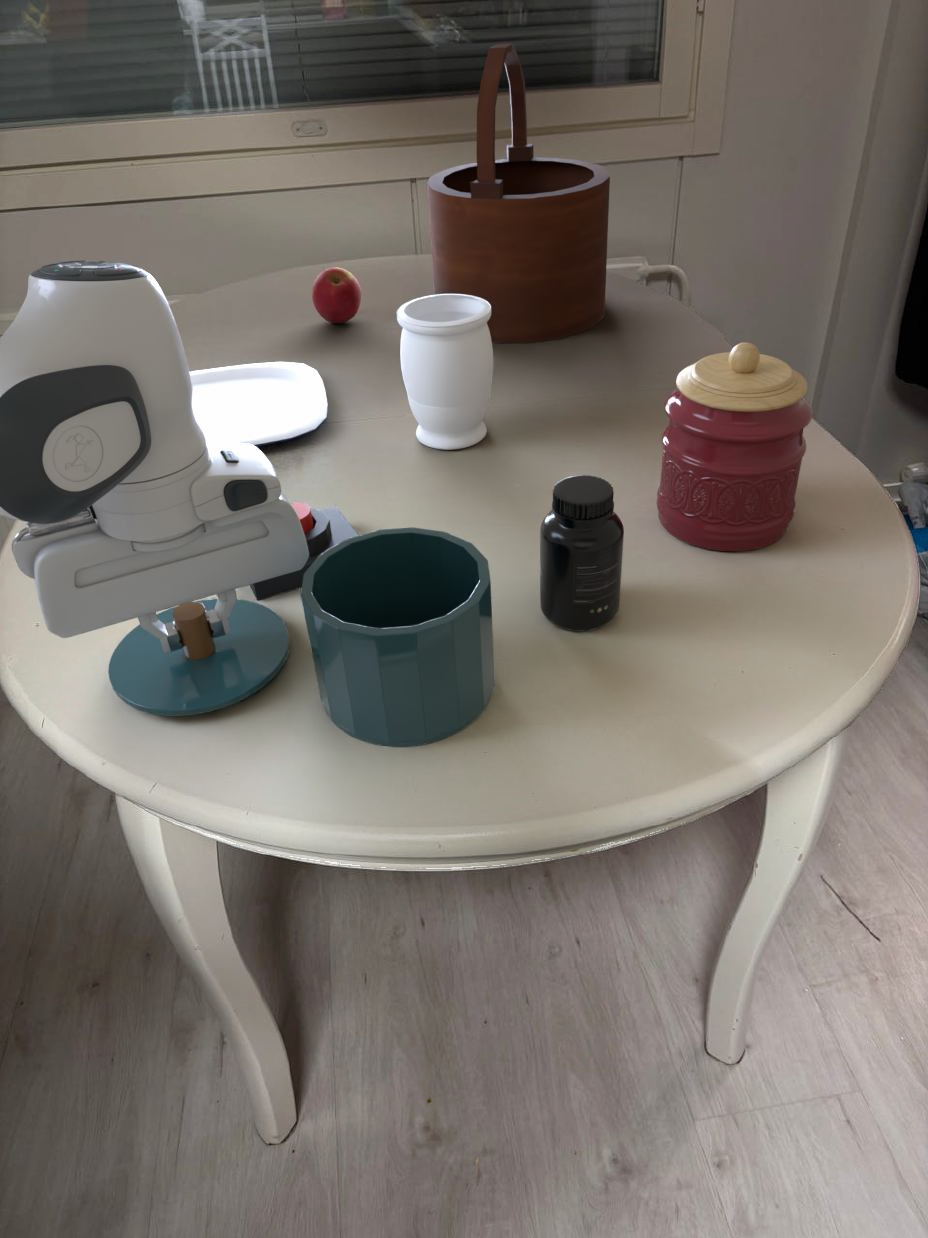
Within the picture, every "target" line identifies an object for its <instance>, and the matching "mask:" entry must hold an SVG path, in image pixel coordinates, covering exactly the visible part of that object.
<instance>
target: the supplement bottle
mask: <svg viewBox="0 0 928 1238" xmlns="http://www.w3.org/2000/svg"><path fill="white" fill-rule="evenodd" d="M614 493H615V491H614V487H613V486H612V484H611V483H610V482H609V481H607V480H606V479H604V478H601V477H598V476H595V475H590V474H588V475H587V474H582V475H581V474H578V475H571V476H567V477H565V478H562V479H560V480H558V482H556V483H555V485H554V486H553V488H552V501H551V511H549V512H548V513H547V514H546V516H545V517H543V520H542V522H541V523H540V524H541V525H540V531H539V552H540V553H539V558H540V559H539V586H540V587H539V590H540V592H539V596H540V597H539V598H540V599H539V600H540V609H541V612H542V613H543V614H542V615H544V617H545V618H546V619H547V620H548V621H549V622H550V623H551V624H553V625H555V626H556V627H558V628H561V629H563V630H568V631H574V632H587V631H595V630H598V629H600V628H602V627H605V626H607V625H608V624H610V623H611V622H612V621H613V620H614V619H615V617H616V616H617V614H618V612H619V609H620V601H621V587H622V586H621V584H622V569H623V554H624V539H625V537H624V536H625V528H624V524H623V522H622V519H621V518H620V516H619V515H618V514H617V513H616V512H615V511H614V510H615V501H614V497H615V496H614Z"/></svg>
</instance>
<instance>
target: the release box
mask: <svg viewBox="0 0 928 1238" xmlns="http://www.w3.org/2000/svg"><path fill="white" fill-rule="evenodd" d="M310 508H311V513H312V519H313V529H312V530H310V531H309V532H307V533H306V534H304V535H305V538H306V542H307V546H308V550H309V558H308V560H307V562H306V563H305V565H304V567H303V568H302V569H301V570H298V571H295V572H291V573H288V574H284V575H281V576H278V577H274V578H271V579H267V580H264V581H260V582H257V583H254V584H250V585H248V586H249V588H250V589H251V591H252V594H253V595H254V597H255V599H256V601H260V600H264V599H267V598H272V597H274V596H277V595H280V594H285V593H287V592H291V591H295V590H299V589H302V582H303V576H304V573H305V572H306V571H307V569H308V568H309V567H310V566H311V565H312V564H313V562H314V561H315V560H316V559H317V558H318V556H319V555H321V553H323V552H325V551H327V550H328V549H330V548H332V547H334V546H335V545H337V544H339V543H340V542H342V541H344V540H346V539H349V538H352V537H356V536H359V534H358V532H356V530H355V529H354V528H353V526H352V525H351V524H350V522H349V521H348V520H347V518H346V517H345V516H344V515H343V513H342V512H341V510H340V509H339V508H338V507H337V505H333V506H330V507H326V508H322V509H317V508H313V507H310Z"/></svg>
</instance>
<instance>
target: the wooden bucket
mask: <svg viewBox="0 0 928 1238" xmlns="http://www.w3.org/2000/svg"><path fill="white" fill-rule="evenodd" d="M521 63H522V62H521V61H520V58H519V55H518V52H517V51H516V48H515V45H514V43H513V42H511V43H495V44H494V45H492V46H490V47H489V48H488V52H487V56H486V60H485V64H484V67H483V72H482V76H481V80H480V84H479V85H480V86H479V91H478V92H479V93H478V98H477V99H478V100H477V106H476V162H471V163H465V164H461V165H456V166H453V167H450V168H446V169H444V170H440V171H439V172H436V173H435V174H433V175H432V176H430V177H429V178H428V180H427V182H426V190H427V205H428V220H429V233H430V249H431V262H432V264H431V265H432V276H433V290H434V295H437V294H465V295H471V296H476V297H479V298H482V299H484V300H486V301H487V302H489V304H490V305H491V317H490V319H489V320H488V321H487V325H488V328H489V331H490V336H491V341H492V343H499V344H526V343H527V344H528V343H529V344H532V343H538V342H539V343H540V342H545V341H553V340H560V339H563V338H566V337H569V336H570V337H571V336H573V335H577V334H580V333H583V332H584V331H586V330H589V329H590V328H593V327H594V326H596V325H598V323H599V322H600V321H601V320H602V319H603V317H604V316H605V311H606V287H607V286H606V285H607V263H608V262H607V261H608V260H607V259H608V236H609V212H610V211H609V208H610V186H611V185H610V184H611V180H610V179H611V174H610V170H609V169H608V168H605V167H603V166H602V165H600V164H598V163H593V162H589V161H585V160H578V159H568V158H561V157H535V156H534V155H535V154H534V153H535V152H534V143H528V118H527V99H526V81H525V78H524V71H523V67H522V64H521ZM504 68H505V72H506V77H507V80H508V81H507V82H508V87H509V102H510V117H511V144H506V158H501V159H496V107H497V99H498V93H499V85H500V79H501V76H502V73H503V69H504Z"/></svg>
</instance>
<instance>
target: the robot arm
mask: <svg viewBox="0 0 928 1238" xmlns="http://www.w3.org/2000/svg"><path fill="white" fill-rule="evenodd" d="M27 280H28V281H27V282H28V283H27V293H26V296H25V299H24V301H23V303H22V305H21V307H20V308H19V311H18V313H17V314H16V317H14V319H13V321H12V322H11V324H10V325H9V327H8V328H7V329H6V330H5V332H4V333H3V334H2V335H1V337H0V516H2V517H5V518H9V519H13V520H17V521H20V522H26V527H24V528H22V529H21V530H19V531H18V532H17V533H16V534H15V535H14V537H13V539H12V540H11V541H12V542H11V553H12V555H13V557H14V560H15V562H16V564H17V567H18V569H19V570H20V571H21V573H22V574H24V575H25V576H27V577H28V578H30V579H33V580H34V583H35V588H36V594H37V598H38V602H39V603H38V604H39V607H40V610H41V613H42V618H43V620H44V624H45V626H46V629H47V631H48V632H49V633H51V634H53V635H54V636H57V637H60V638H61V639H69V638H72V637H76V636H78V635H81V634H85V633H89V632H93V631H96V630H99V629H103V628H106V627H110V626H114V625H116V624H120V623H123V622H126V621H130V620H134V619H137V620H138V622H139V625H140V626H141V627H142V628H144V629H145V630H146V631H148V632H149V633H151V634H152V635H154V636H155V637H157V638H158V639H160V641H161V644H162V647H163V650H164V653H165V654H166V653H169V652H173V651H176V650H179V649H182V648H183V647H182V644H181V641H180V637H179V634H178V631H177V629H176V627H175V623H174V622H170V623H166V624H163V623H162V622H161V621H160V620H158V618H157V614H158V613H159V612H162V611H166V610H168V609H170V608H173V607H176V606H179V605H182V604H185V603H189V602H195V601H200V600H203V599H205V598H209V597H212V596H215V595H216V596H217V599H218V600H217V603H216V606H215V609H213V610H210V611H207V612H206V613H207V616H208V621H209V624H210V627H211V632H212V635H213V638H217V637H221V636H224V635H227V634H231V629H230V625H229V622H228V618H229V616H230V614H231V612H232V609H233V607H234V604H235V602H236V600H237V599H238V597H237V592H236V589H240V588H243V587H246V586H249V585H250V584H254V583H257V582H260V581H264V580H267V579H271V578H274V577H278V576H281V575H284V574H288V573H291V572H295V571H298V570H301V569H302V568H303V567H304V565H305V563H306V562H307V560H308V558H309V550H308V546H307V542H306V538H305V535H304V531H303V528H302V526H301V523H300V520H299V518H298V516H297V513H296V511H295V509H294V508H293V506H292V505H291V503H290V502H291V501H290V500H289V498H288V497H287V495H286V494H285V493H284V491H283V490H282V485H281V481H280V478H279V475H278V473H277V470H276V469H275V467H274V465H273V464H272V462H271V461H270V459H269V458H268V457H267V456H266V455H265V453H264V452H263V451H262V450H261V449H260V448H259V447H258V446H254V445H252V444H244V443H223V442H208V441H206V438H205V436H204V433H203V431H202V429H201V428H200V426H199V424H198V423H197V421H196V419H195V416H194V413H193V407H192V396H193V385H192V380H191V376H190V372H191V371H190V368H189V363H188V360H187V355H186V352H185V348H184V345H183V341H182V338H181V335H180V332H179V328H178V326H177V322H176V319H175V317H174V314H173V311H172V309H171V307H170V304H169V301H168V300H167V298H166V295H165V293H164V292H163V290H162V288H161V286H160V285H159V283H158V282H157V280H156V279H155V278H154V277H153V275H152V274H150V273H149V272H148V271H146V270H144V269H143V268H141V267H139V266H136V265H132V264H127V263H122V262H116V261H108V260H97V261H96V260H85V259H84V260H69V261H58V262H53V263H49V264H45V265H42V266H40V268H37V269H35V270H33V271H31V273H29V276H28V279H27Z"/></svg>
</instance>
